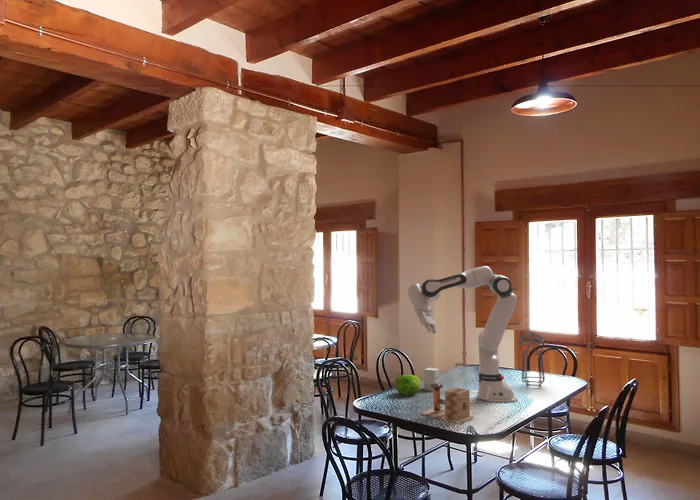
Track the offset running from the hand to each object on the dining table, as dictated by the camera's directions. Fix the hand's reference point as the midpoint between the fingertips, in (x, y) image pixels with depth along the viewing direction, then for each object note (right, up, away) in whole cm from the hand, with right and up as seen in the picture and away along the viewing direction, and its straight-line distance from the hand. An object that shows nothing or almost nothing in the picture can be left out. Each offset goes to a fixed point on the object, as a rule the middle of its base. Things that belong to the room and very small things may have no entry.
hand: (432, 332), depth 291 cm
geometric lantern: (+68, -40, +32) cm, 85 cm away
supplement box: (+3, -40, +25) cm, 47 cm away
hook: (+2, -35, -33) cm, 48 cm away
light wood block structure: (+2, -37, -33) cm, 50 cm away
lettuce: (-11, -39, +14) cm, 43 cm away
